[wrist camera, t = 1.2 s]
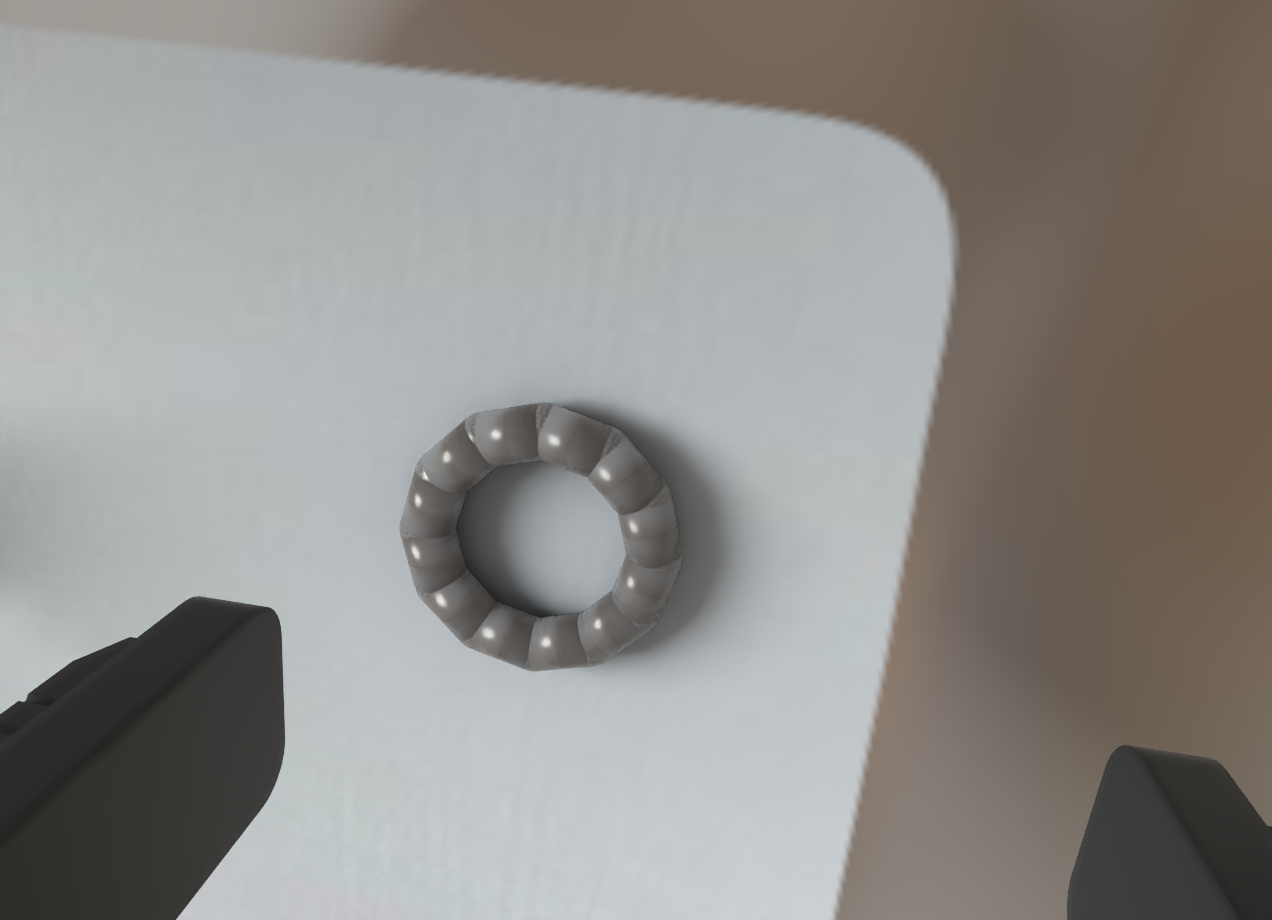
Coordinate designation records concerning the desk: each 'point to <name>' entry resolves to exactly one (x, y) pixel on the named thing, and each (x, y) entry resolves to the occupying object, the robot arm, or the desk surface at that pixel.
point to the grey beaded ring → (571, 448)
